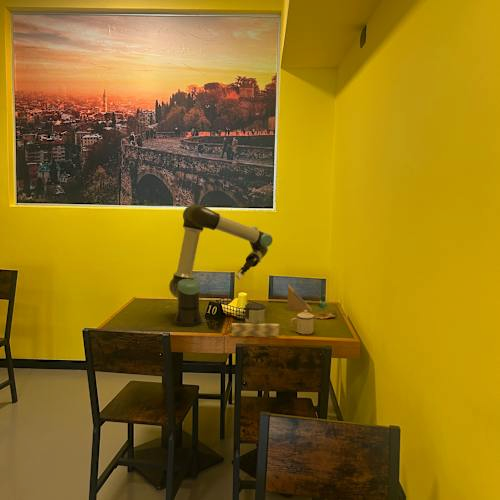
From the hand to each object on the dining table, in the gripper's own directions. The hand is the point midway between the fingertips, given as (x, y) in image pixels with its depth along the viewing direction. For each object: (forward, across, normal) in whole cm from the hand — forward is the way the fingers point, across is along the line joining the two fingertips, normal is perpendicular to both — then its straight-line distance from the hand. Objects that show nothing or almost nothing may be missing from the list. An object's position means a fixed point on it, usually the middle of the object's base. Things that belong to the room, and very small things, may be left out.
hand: (237, 277), depth 258 cm
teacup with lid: (+8, -13, -43) cm, 46 cm away
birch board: (+25, -2, -26) cm, 36 cm away
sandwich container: (-34, +8, -44) cm, 56 cm away
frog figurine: (-23, -9, -53) cm, 59 cm away
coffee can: (+19, +2, -26) cm, 32 cm away
